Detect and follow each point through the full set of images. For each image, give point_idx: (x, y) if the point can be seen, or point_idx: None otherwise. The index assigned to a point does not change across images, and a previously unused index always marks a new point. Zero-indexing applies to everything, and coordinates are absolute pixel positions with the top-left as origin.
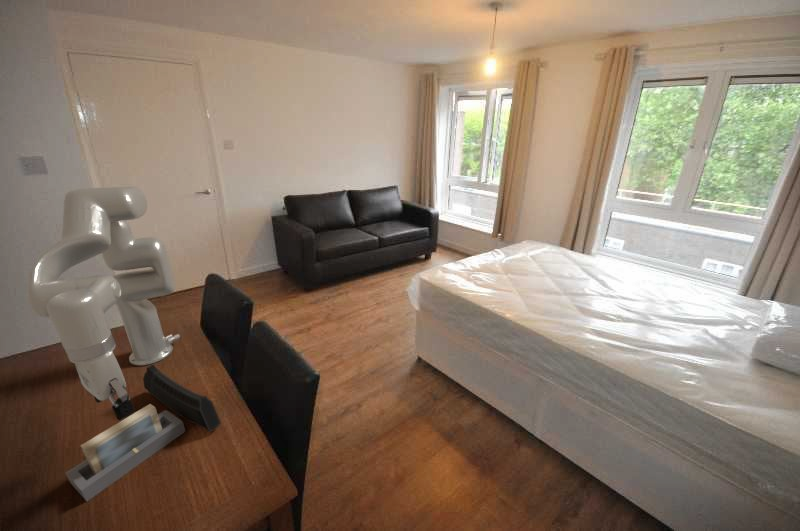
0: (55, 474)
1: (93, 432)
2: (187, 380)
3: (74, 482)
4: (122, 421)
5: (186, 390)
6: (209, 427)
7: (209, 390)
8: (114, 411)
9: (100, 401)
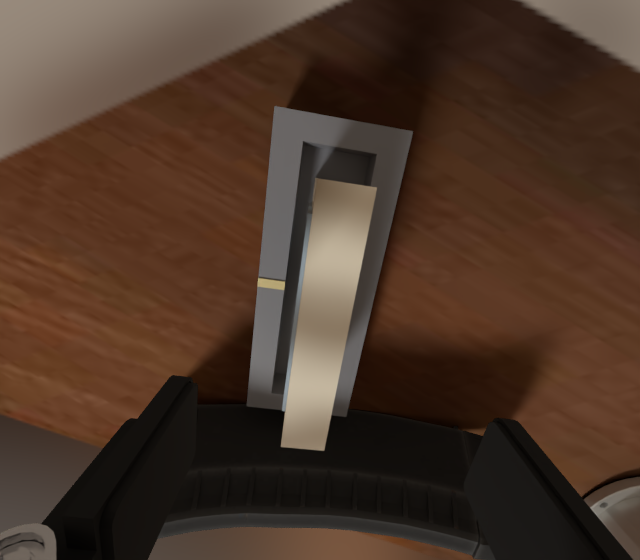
0: (480, 140)
1: (518, 282)
2: None
3: (335, 117)
4: (335, 353)
5: (274, 523)
6: None
7: None
8: (115, 452)
9: (487, 429)
